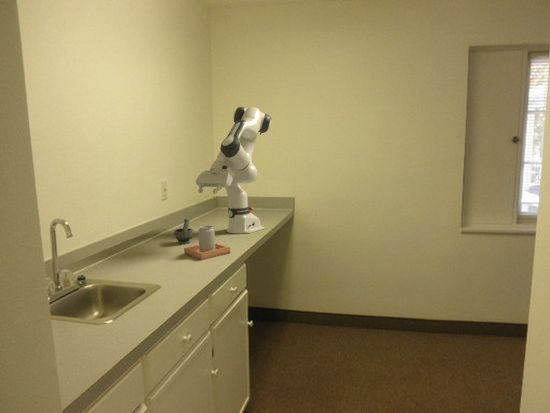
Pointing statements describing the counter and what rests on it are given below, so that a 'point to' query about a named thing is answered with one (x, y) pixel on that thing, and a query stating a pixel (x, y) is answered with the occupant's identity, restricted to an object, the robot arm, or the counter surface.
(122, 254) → the counter surface
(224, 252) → the dish
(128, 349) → the counter surface
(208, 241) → the can
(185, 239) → the mortar and pestle
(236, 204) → the robot arm
